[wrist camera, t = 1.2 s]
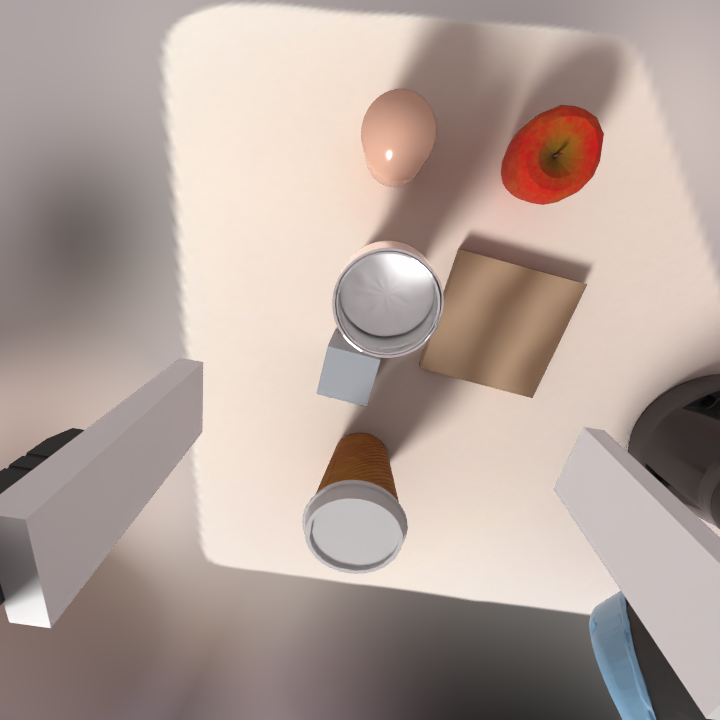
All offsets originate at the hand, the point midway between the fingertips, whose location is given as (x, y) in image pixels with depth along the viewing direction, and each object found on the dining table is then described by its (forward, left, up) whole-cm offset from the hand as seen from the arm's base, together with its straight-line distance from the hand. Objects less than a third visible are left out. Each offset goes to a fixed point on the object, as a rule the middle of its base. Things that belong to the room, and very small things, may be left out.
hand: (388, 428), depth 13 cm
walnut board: (-12, 0, -25) cm, 28 cm away
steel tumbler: (0, -2, -25) cm, 25 cm away
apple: (-9, -14, -25) cm, 30 cm away
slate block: (+1, +7, -25) cm, 26 cm away
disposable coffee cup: (-3, +19, -25) cm, 32 cm away
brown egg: (+2, -12, -25) cm, 28 cm away
